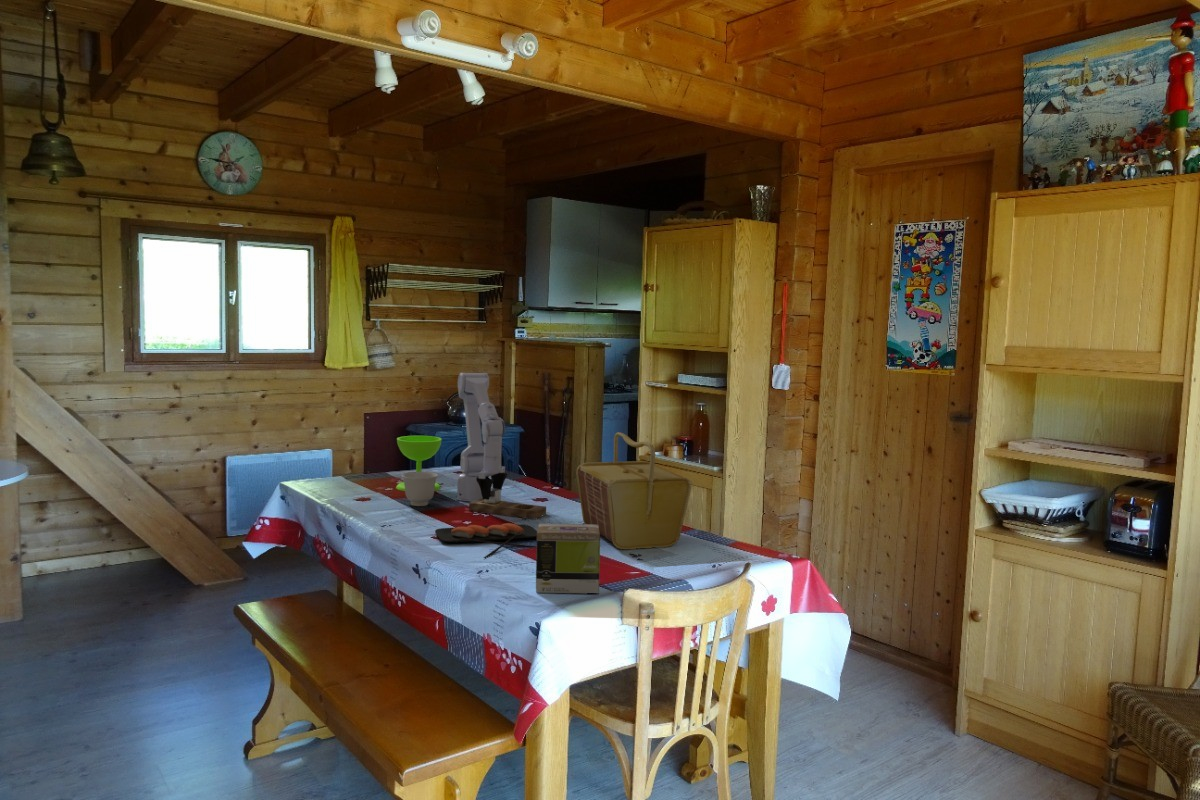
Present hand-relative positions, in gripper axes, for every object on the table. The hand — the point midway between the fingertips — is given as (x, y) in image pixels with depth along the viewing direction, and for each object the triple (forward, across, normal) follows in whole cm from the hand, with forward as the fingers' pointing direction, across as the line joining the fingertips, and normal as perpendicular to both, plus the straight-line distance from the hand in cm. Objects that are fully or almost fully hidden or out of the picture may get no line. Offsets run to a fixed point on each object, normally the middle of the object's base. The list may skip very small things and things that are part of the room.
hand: (491, 497), depth 284 cm
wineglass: (+5, +19, +40) cm, 45 cm away
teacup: (+5, -3, +25) cm, 26 cm away
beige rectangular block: (+4, 0, 0) cm, 5 cm away
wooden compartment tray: (+4, 0, -6) cm, 7 cm away
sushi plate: (+5, -36, -20) cm, 42 cm away
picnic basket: (+5, -11, -52) cm, 53 cm away
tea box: (+5, -63, -54) cm, 83 cm away
